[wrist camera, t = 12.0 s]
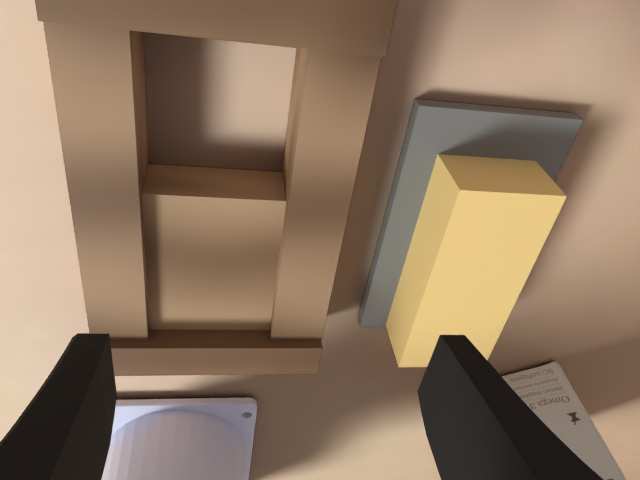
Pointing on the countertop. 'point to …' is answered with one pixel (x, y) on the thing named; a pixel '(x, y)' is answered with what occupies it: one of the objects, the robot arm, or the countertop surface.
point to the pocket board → (211, 185)
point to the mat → (464, 140)
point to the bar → (470, 253)
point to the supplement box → (564, 415)
